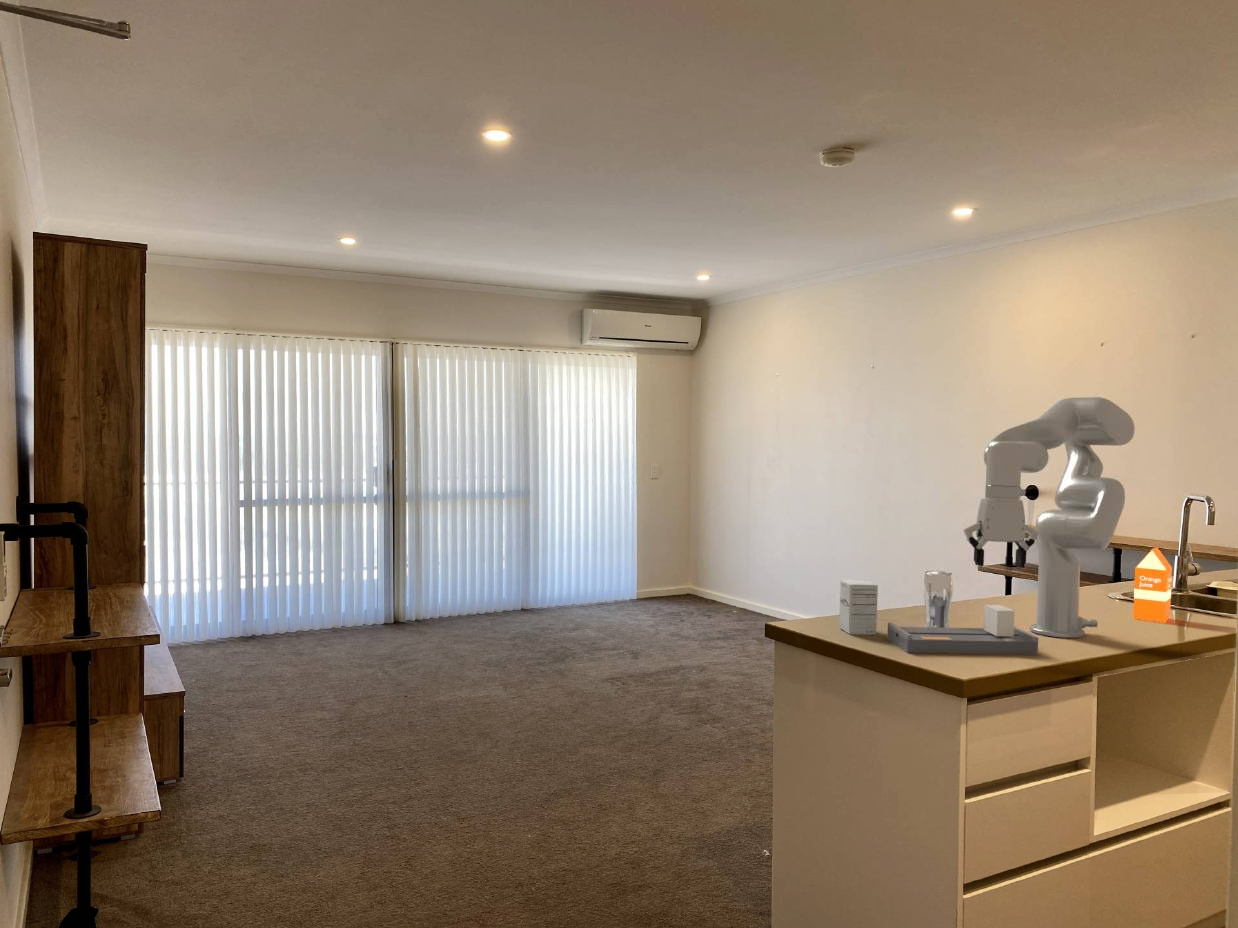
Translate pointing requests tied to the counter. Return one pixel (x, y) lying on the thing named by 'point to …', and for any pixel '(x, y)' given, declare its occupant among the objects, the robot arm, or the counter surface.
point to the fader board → (961, 641)
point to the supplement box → (858, 607)
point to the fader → (998, 620)
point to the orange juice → (1153, 588)
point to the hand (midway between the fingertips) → (999, 566)
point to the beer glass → (937, 598)
